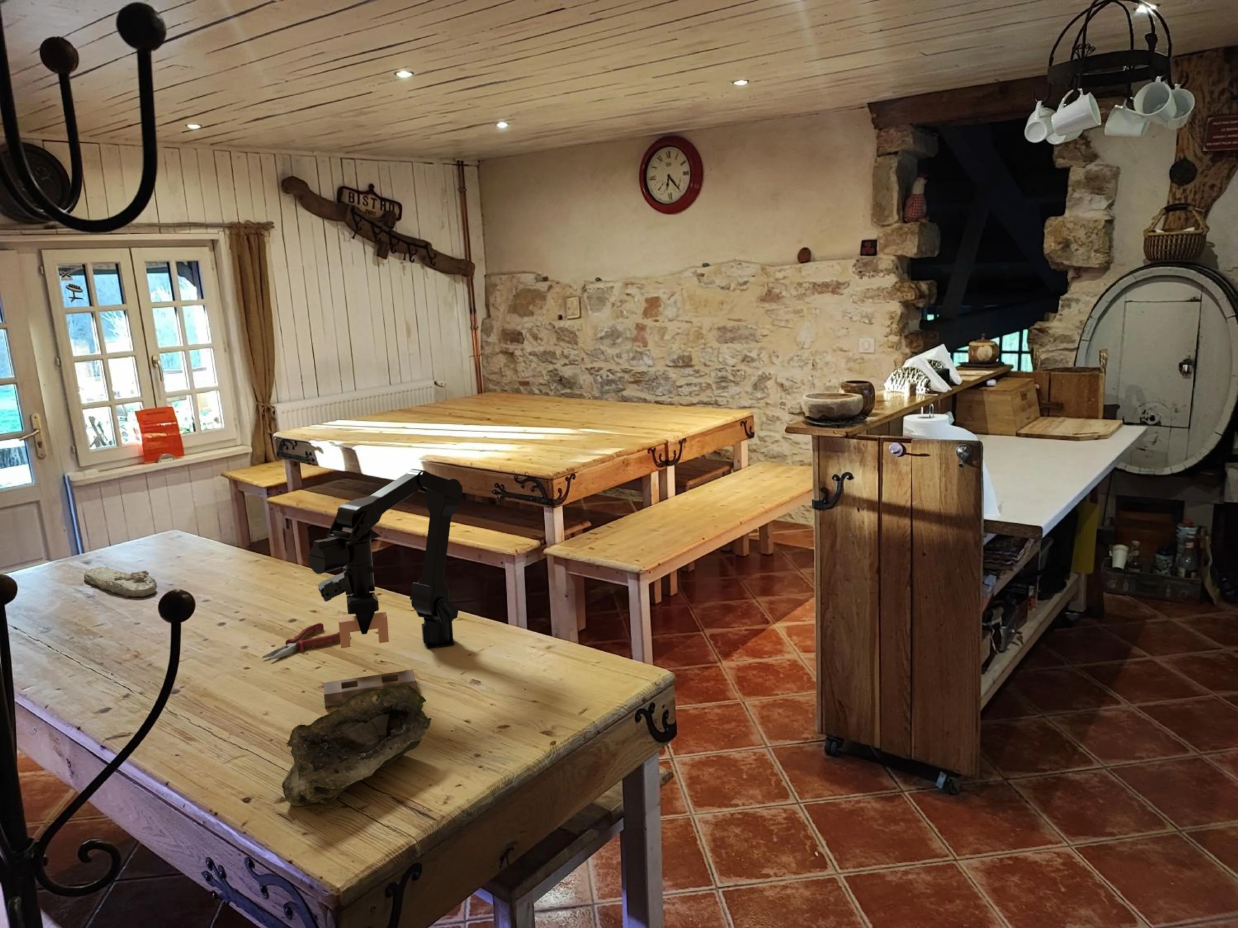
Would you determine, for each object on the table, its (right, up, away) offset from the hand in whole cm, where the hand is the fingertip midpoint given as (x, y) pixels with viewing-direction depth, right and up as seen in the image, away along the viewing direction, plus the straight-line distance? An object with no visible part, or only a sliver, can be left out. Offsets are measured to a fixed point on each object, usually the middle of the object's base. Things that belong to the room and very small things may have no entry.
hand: (364, 631), depth 194 cm
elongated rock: (-90, 0, +67) cm, 112 cm away
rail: (+4, -11, -9) cm, 15 cm away
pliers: (-20, -7, +20) cm, 29 cm away
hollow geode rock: (+12, -18, -41) cm, 46 cm away
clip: (0, -3, 0) cm, 3 cm away
